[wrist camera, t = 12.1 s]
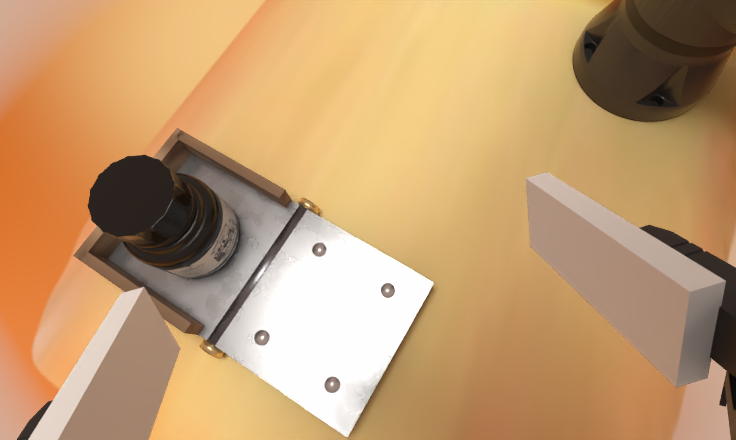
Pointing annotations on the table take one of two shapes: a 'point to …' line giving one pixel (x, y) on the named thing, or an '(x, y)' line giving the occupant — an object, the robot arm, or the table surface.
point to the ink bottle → (164, 216)
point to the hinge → (295, 301)
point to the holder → (173, 157)
